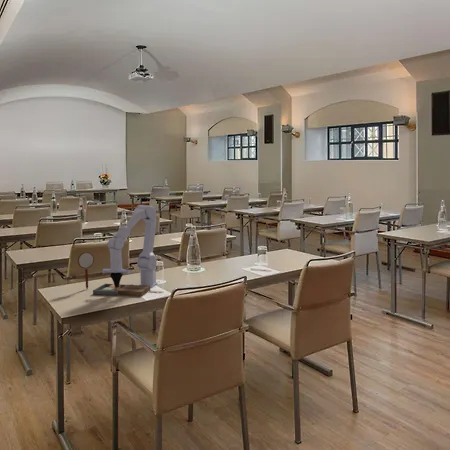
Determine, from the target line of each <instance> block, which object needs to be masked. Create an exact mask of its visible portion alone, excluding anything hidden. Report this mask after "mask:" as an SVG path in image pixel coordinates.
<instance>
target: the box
mask: <svg viewBox="0 0 450 450" xmlns="http://www.w3.org/2000/svg"><path fill="white" fill-rule="evenodd" d="M112 284H113V283H104V284H102V285H100V286H98V287H97V288H94V289H93V290H92V296H93V295H94V296H97V295H98V296H114V297H117V296H119V295H118V290H117V291H115V290H114V291H103V290H102V289H104V288H106V287H109V286H111V285H112ZM119 285H121V288H122V287H124V286H126V285H127V284H123V283H122V284H119Z"/></svg>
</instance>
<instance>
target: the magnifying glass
mask: <svg viewBox="0 0 450 450" xmlns="http://www.w3.org/2000/svg"><path fill="white" fill-rule="evenodd" d="M94 261H95V257H94V255H93V254H92V253H90V252H89V251H88V252H87V251H85V252H83V253H81V254H80V255H79V256H78V258H77V264H78V266H79V267H80V268H82V269H84V270H85V271H84V273H85V275H84V276H85V288H86V290H89V289H88V288H89V275H88V274H89V273H88V268H91V267H92V266H93V264H94Z"/></svg>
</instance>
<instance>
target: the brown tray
mask: <svg viewBox="0 0 450 450" xmlns="http://www.w3.org/2000/svg"><path fill="white" fill-rule="evenodd" d="M125 285H126V286H124V287H122V288H121V289H119V290H118V295H117V296H120V297H121V296H123V297H139V298H141V297H144V296H145V295H146V294H148V293H149V292H150V291H151V287H150V286H144V285H140V284H125ZM148 291H149V292H148ZM147 292H148V293H147Z"/></svg>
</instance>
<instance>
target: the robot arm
mask: <svg viewBox="0 0 450 450" xmlns="http://www.w3.org/2000/svg"><path fill="white" fill-rule="evenodd" d="M140 220H143V221H144V223H145V230H144V237H143V245H142V246H143V247H142V252H140V253H139V255H138V256H139V257H138V259H137V260H136V261H137V262H136V264H137V267H138V268H139V270H140V271H139V272H140V275H139V276H140V284H139V285H144V286H150V288H153V287H155V286H156V285H158V282H157V272H156V267H157V255H155V253H154V248H155V247H154V246H155V237H156V228H157V209H156V208H155V207H154V205H147V204H146V205H145V204H138V205H137V206H136V207H135V208H134V210H133V214H132V215H131V217H130V218H129V219H128V220H127V222H126V224H125V225H123V226H121V227H119V228H118V231H117V232H116V233H115V234H114V235H113V237H110V238H109V239H108V241H107V243H106V244H107V245H106V246H107V247H108V250H109V256H110V257H109V259H110V268H103V269H102V274H110V275H109V277H110V278H111V280H112V282H113V284H114V285H115V288H118V287H119V284H120V283H121V279H122V277H123V275H130V274H131V273H132V272H131V269H126V268H123V257H122V256H123V255H122V253H123V252H122V248H124V246H125V241H126V240H127V238H128V237H129V236H130V235H131V231H132V229H133V228H134V227H135V226H136V225H137V223H138V222H139V221H140Z"/></svg>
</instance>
